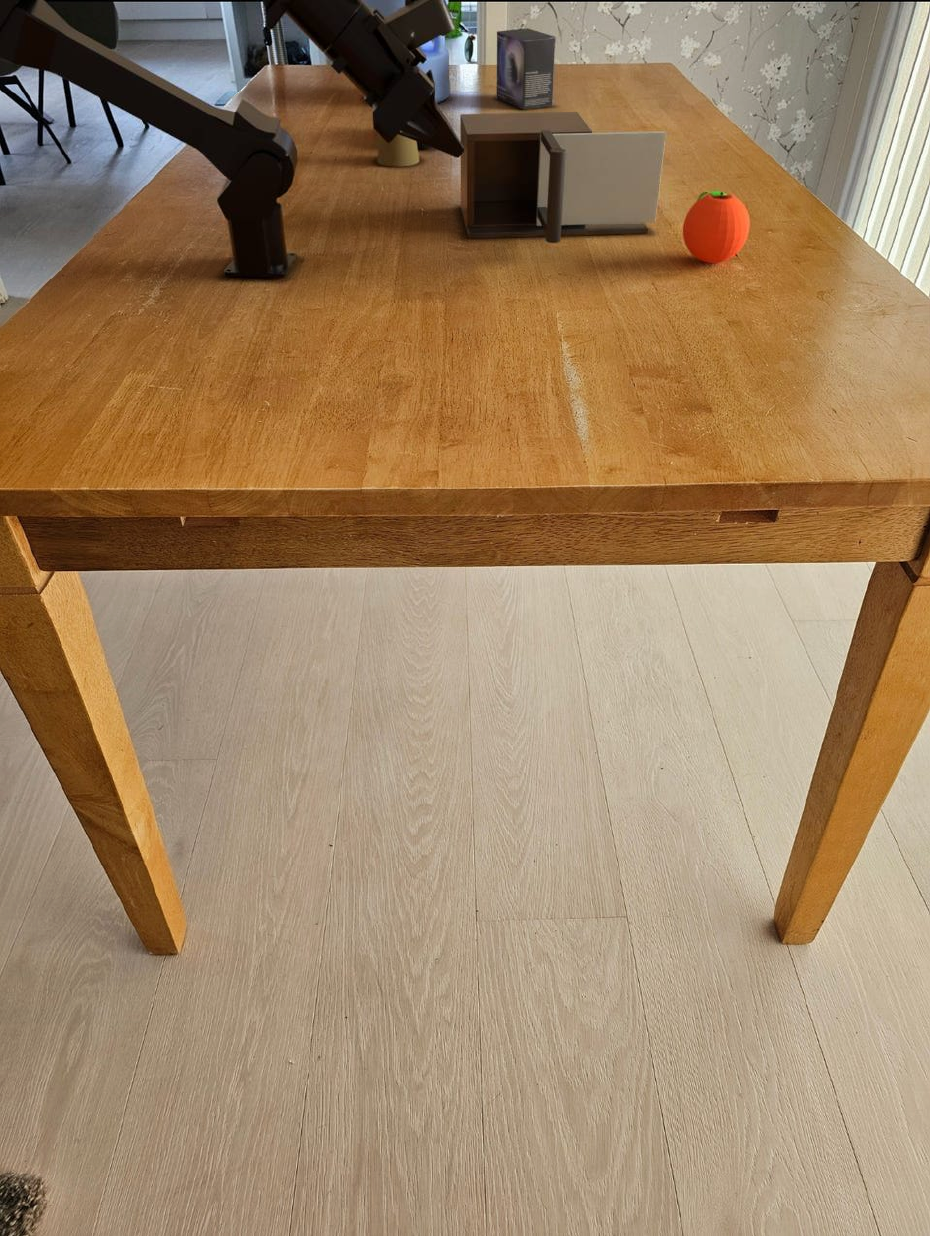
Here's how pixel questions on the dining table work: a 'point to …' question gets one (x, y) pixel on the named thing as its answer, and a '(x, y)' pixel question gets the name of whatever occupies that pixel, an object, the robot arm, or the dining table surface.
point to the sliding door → (598, 179)
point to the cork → (397, 152)
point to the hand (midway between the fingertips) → (461, 153)
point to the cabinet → (513, 174)
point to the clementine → (716, 227)
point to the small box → (525, 68)
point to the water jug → (424, 50)
